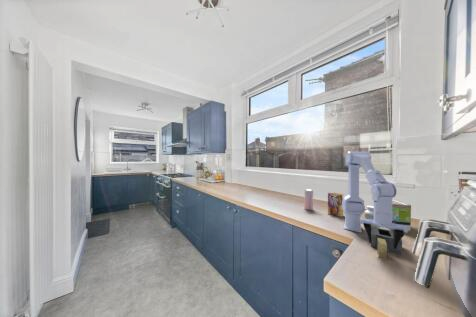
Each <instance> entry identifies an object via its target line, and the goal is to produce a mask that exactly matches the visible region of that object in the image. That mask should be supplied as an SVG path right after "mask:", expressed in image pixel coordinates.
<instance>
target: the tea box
mask: <svg viewBox="0 0 476 317" xmlns="http://www.w3.org/2000/svg"><path fill="white" fill-rule="evenodd" d="M411 219H412V205H411V204H410V203H409V204H408V203H405V202H402V201H400V200H396V199H393V198H392V223H394V224H398V225H402V226H406V227H407V228H408V232H411V227H412V226H411V223H412V222H411V221H412V220H411ZM390 230H392V231H393V229H390Z"/></svg>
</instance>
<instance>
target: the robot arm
mask: <svg viewBox="0 0 476 317" xmlns="http://www.w3.org/2000/svg"><path fill="white" fill-rule="evenodd" d="M345 166H346V167H347V168H348V178H347V179H348V185H347V186H348V188H347V193H348V194H347V195H346V196H343V201H342V209H343V213H344V223H343V224H344V225H343V229H344V230H347V231H353V232H357V233H362V231H363V230H362V226H361V225H363V227H364V229H365V231H366V235H367V236H368V243H369V244H371V242H372V241H371V225H372V226H377V227H380V228H381V229H387V230H391V229H393V230H392V231H393V248H394V249H396V248H397V245H398V243H399V241H400V240H401V239H403V237H404V236H405V233H406V234H407V233H409V231H408V228H407V227H406V226H402V225H398V224H394V223H392V199H393V198H395V197H396V195H397V187H396V186H395V184H394V183H392V182H390V181H387V179H386V178H385V177H384V175H383V173H382V172H381V171H380V170H377V169H375V167H374V164H373V163H372V155H371V153H370V152H369V151H347V153H346V154H345ZM361 168H362V169H363V171H364V172H365V178H366V179H367V182H368V183H369V185H370V186H371V187H370V192H371V196H372V197H371V198H372V200H373V206H374V220H372V219H365V218H362V216H361V215H363V213H364V214H365V211H366V207H365V200H364V199H363V198H362V197H360V169H361Z"/></svg>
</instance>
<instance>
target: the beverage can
mask: <svg viewBox="0 0 476 317" xmlns="http://www.w3.org/2000/svg"><path fill="white" fill-rule="evenodd" d="M304 209H305V210H306V211H312V210H313V209H314V190H313V189H309V188H306V189H305V190H304Z"/></svg>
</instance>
